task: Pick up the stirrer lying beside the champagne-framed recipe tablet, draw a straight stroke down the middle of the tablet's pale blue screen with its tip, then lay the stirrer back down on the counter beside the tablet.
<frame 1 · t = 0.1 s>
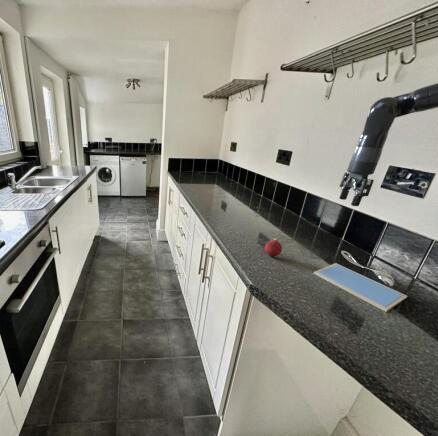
hand: (348, 202, 90), 22 cm above the table, tool pointing down, fingers open, 8 cm apart
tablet: (356, 285, 77), on the table
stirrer: (362, 269, 86), on the table
onion: (270, 257, 92), on the table
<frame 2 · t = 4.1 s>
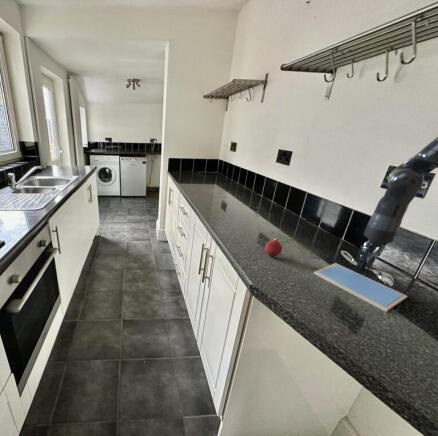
hand: (363, 267, 86), 1 cm above the table, tool pointing down, fingers closed on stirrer, 5 cm apart
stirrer: (362, 269, 86), on the table, touching gripper
everything else where it was.
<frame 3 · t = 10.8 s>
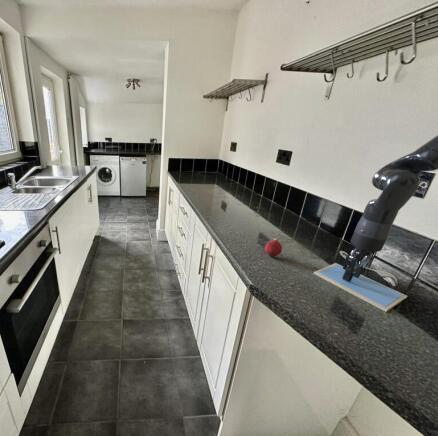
hand: (350, 278, 78), 1 cm above the table, tool pointing down, fingers open, 5 cm apart
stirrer: (363, 269, 86), on the table
everything else where it was.
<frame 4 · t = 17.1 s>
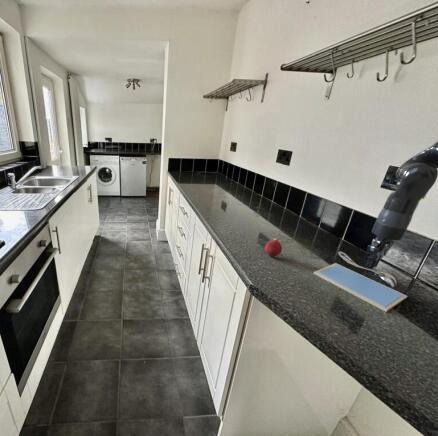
hand: (370, 266, 83), 2 cm above the table, tool pointing down, fingers closed, pressing on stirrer
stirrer: (362, 270, 86), on the table, touching gripper
everything else where it was.
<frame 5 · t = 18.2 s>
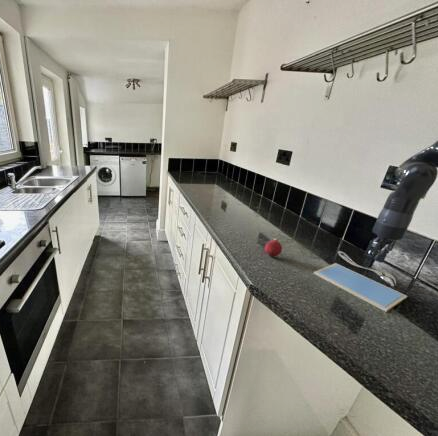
hand: (372, 264, 82), 4 cm above the table, tool pointing down, fingers open, 8 cm apart
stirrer: (362, 269, 86), on the table
everything else where it was.
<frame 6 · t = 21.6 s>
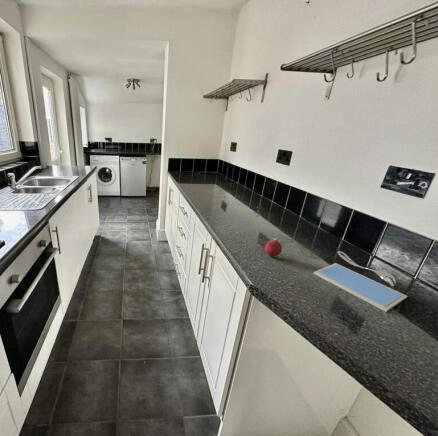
nothing on the table moved.
at the end: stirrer inside the target area (2.0 cm from its centre), on the table; the gripper is holding nothing; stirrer touching table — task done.
